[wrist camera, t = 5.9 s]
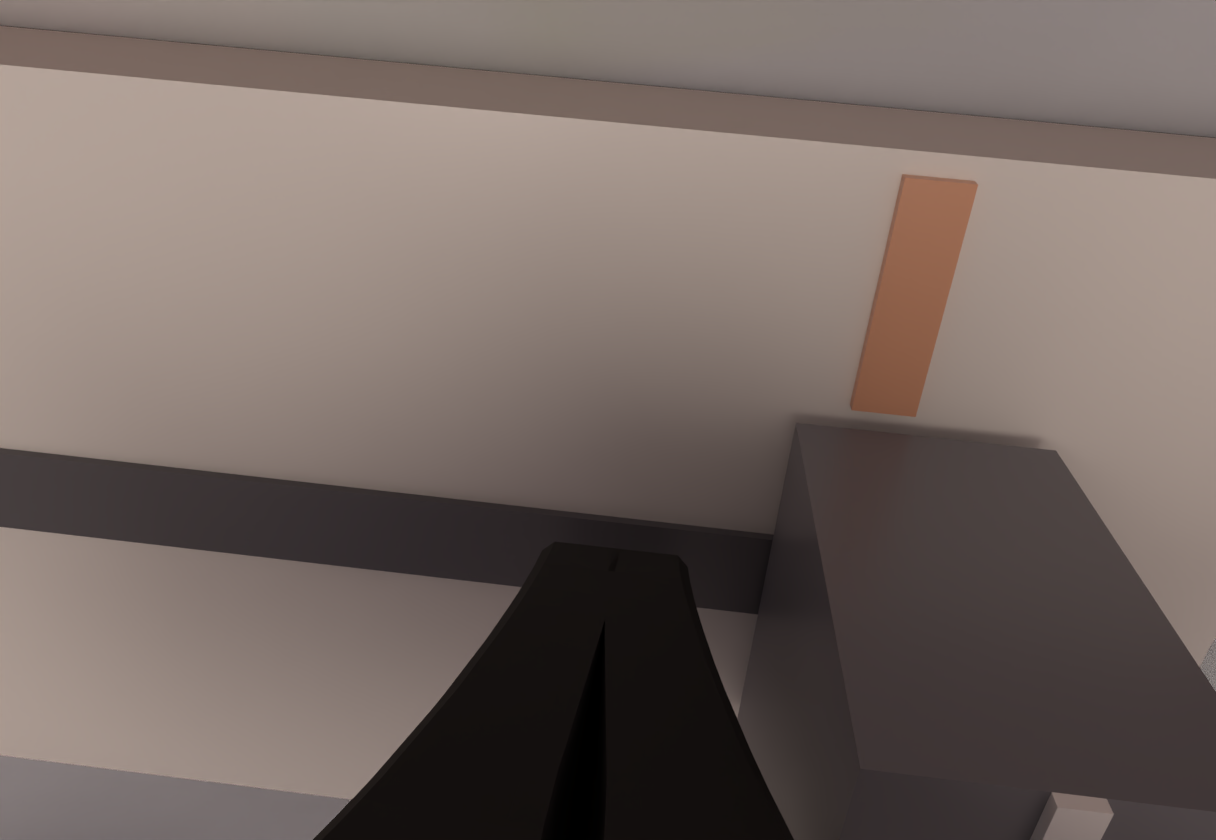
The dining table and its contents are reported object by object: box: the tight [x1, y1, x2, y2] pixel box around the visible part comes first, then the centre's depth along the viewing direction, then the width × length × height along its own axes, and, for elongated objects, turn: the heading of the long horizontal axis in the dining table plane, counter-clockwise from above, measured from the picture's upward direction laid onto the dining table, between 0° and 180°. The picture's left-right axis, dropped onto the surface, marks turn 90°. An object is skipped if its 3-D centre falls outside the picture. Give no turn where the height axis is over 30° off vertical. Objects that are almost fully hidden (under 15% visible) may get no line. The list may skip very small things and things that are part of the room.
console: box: [0, 26, 1216, 800], centre depth 11 cm, size 9×18×2 cm, turn 86°
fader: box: [737, 423, 1216, 840], centre depth 8 cm, size 4×2×4 cm, turn 176°
